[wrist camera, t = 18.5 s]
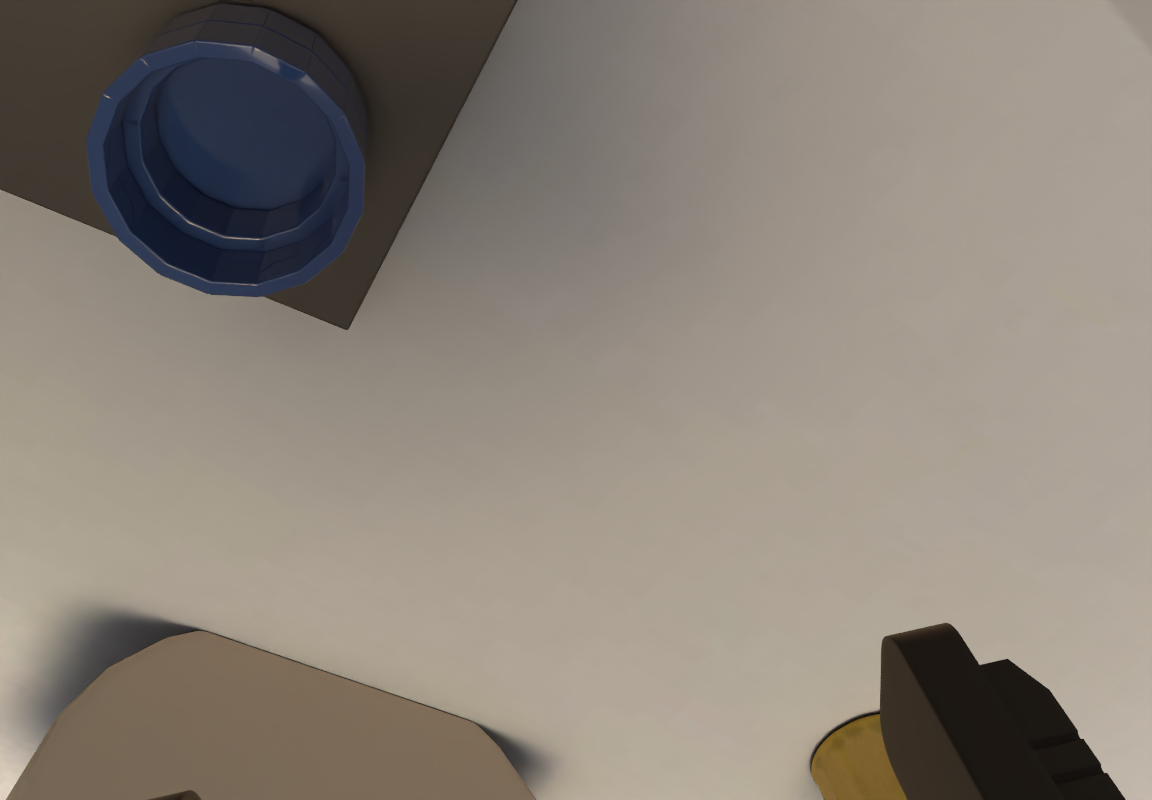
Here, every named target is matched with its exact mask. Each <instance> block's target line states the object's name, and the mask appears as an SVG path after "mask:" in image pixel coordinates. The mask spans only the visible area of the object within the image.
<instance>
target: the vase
mask: <svg viewBox="0 0 1152 800" xmlns="http://www.w3.org/2000/svg"><path fill="white" fill-rule="evenodd" d="M811 772H812V777H813V779H814V781H815V783H816V784H817V785H818V787H819V789H820V791H821V793H822V795H823V797H824V799H825V800H907V798H906V796H905V794H904V792H903V790H902V788H901V786H900V784H899V782H898V780H897V778H896V775H895V773H894V771H893V769H892V766H891V764H890V761H889V758H888V755H887V752H886V749H885V745H884V741H883V737H882V732H881V725H880V714H877V715H872V716H868V717H864V718H860V719H858V720H855V721H853V722H851V723H849V724H847V725H845V726H844V727H842V728H840V729H839V730H837V731H835V732H834V733H833V734H831V735H830V736H829V737H828V738H827V739H826V740H825V741H824V742H823V743H822V744H821V746H820V747H819V748H818V750H817V751H816V754H815V756H814V758H813V761H812V768H811Z"/></svg>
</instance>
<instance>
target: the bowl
mask: <svg viewBox="0 0 1152 800" xmlns="http://www.w3.org/2000/svg"><path fill="white" fill-rule="evenodd" d="M86 140H87V141H86V150H87V158H88V167H89V175H90V184H91V191H92V194H93V196H94V198H95V199H96V201H97V203H98V205H99V206H100V208H101V210H102V212H103V213H104V215H105V217H106V219H107V221H108V222H109V224H110V226H111V228H112V229H113V231H114V233H115V235H116V237H117V238H119V240H120V241H121V242H122V243H123V244H124V245H125V246H126V247H128V248H129V249H130V250H131V251H132V252H134V253H135V254H136V255H137V256H138V257H139V258H141V259H142V260H143V261H144V262H145V263H146V264H148V265H149V266H150V267H151V268H152V269H153V270H155V271H156V272H157V273H158V274H160V275H162V276H164V277H167V278H169V279H172V280H174V281H177V282H179V283H182V284H184V285H187V286H189V287H192V288H194V289H197V290H199V291H202V292H204V293H207V294H211V295H229V296H248V297H260V296H261V297H262V296H266V295H269V294H272V293H275V292H279V291H282V290H285V289H288V288H292V287H295V286H298V285H301V284H305V283H306V282H309V281H310V280H311V279H312V278H314V277H315V276H316V275H317V274H318V273H320V272H321V271H322V270H323V269H325V268H326V267H327V266H328V265H329V264H331V263H332V262H333V261H334V260H335V259H337V258H338V257H339V256H340V255H342V253H343V252H344V251H345V249H346V247H347V244H348V242H349V240H350V238H351V236H352V234H353V232H354V230H355V228H356V226H357V224H358V222H359V220H360V218H361V216H362V214H363V210H364V200H365V184H366V168H367V146H368V116H367V111H366V108H365V105H364V103H363V100H362V97H361V95H360V92H359V90H358V87H357V84H356V82H355V79H354V77H353V74H352V73H351V72H350V69H349V68H348V67H347V66H346V64H345V63H344V62H343V61H342V60H341V59H340V58H339V57H338V56H337V54H336V53H335V52H334V51H333V50H332V49H331V48H330V47H329V46H328V44H327V43H326V42H325V41H324V40H323V39H322V38H321V37H320V36H319V35H318V34H316V33H315V32H314V31H312V30H310V29H308V28H306V27H304V26H302V25H300V24H298V23H296V22H295V21H293V20H291V19H289V18H287V17H285V16H283V15H281V14H279V13H277V12H275V11H270V9H268V8H259V7H249V6H240V5H231V4H220V5H219V4H215V5H212V6H209V7H206V8H202V9H199V10H196V11H193V12H190V13H186V14H183V15H180V16H177V17H174V18H173V19H172V20H170V21H168V22H167V23H166V24H165V25H164V26H163V27H162V28H161V29H160V30H159V31H158V32H157V33H156V34H155V35H154V36H153V37H151V38H150V39H149V40H148V41H147V42H146V43H145V44H144V45H143V46H142V47H141V48H140V49H139V50H138V51H137V52H136V54H135V55H134V56H133V57H132V58H131V60H130V61H129V62H128V63H127V64H126V65H125V67H124V68H123V69H122V70H121V71H120V72H119V73H118V75H117V76H116V77H115V78H114V79H113V80H112V82H111V83H110V84H109V85H108V86H107V87H106V89H105V90H104V92H103V93H102V95H101V98H100V100H99V103H98V106H97V109H96V112H95V115H94V117H93V120H92V123H91V126H90V129H89V132H88V134H87V137H86Z"/></svg>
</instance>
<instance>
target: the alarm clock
mask: <svg viewBox="0 0 1152 800" xmlns="http://www.w3.org/2000/svg"><path fill="white" fill-rule="evenodd" d="M188 790H192V791H194V792H196V793H197V794H198V795H199V797H200V798H201V800H536V798H535V797H534V796H533V794H532V793H531V791H530V790H529V789H528V787H527V786H526V784H525V783H524V781H523V780H522V779H521V777H520V776H519V774H518V773H517V772H516V770H515V769H514V767H513V766H512V765H511V763H510V762H509V760H508V759H507V757H506V756H505V755H504V753H503V752H502V750H501V749H500V748H499V746H498V745H497V744H496V743H495V742H494V741H493V740H492V739H491V738H490V737H489V736H488V735H487V734H486V733H485V732H484V731H483V730H482V729H481V728H480V727H479V726H478V725H477V724H475V723H473V722H471V721H468V720H465V719H462V718H459V717H456V716H453V715H450V714H447V713H444V712H442V711H439V710H436V709H433V708H430V707H427V706H424V705H421V704H418V703H415V702H412V701H409V700H406V699H403V698H400V697H397V696H394V695H391V694H388V693H386V692H383V691H380V690H377V689H374V688H371V687H368V686H365V685H362V684H359V683H356V682H353V681H350V680H347V679H344V678H341V677H338V676H335V675H333V674H330V673H327V672H324V671H321V670H318V669H315V668H312V667H309V666H306V665H303V664H300V663H297V662H294V661H291V660H288V659H285V658H282V657H279V656H277V655H274V654H271V653H268V652H265V651H262V650H259V649H256V648H253V647H250V646H247V645H244V644H241V643H238V642H235V641H232V640H229V639H226V638H224V637H221V636H218V635H215V634H212V633H209V632H204V631H195V632H190V633H185V634H181V635H176V636H171V637H167V638H165V639H163V640H161V641H159V642H157V643H155V644H153V645H151V646H149V647H147V648H145V649H143V650H141V651H139V652H137V653H135V654H133V655H131V656H130V657H128V658H126V659H124V660H122V661H120V662H118V663H116V664H114V665H112V666H110V667H108V668H107V669H106V670H105V671H104V672H103V673H102V674H101V675H100V676H99V677H98V678H96V679H95V680H94V681H93V682H92V683H91V684H90V685H89V686H88V687H87V688H86V689H85V690H84V691H83V692H82V693H81V694H80V695H79V696H78V697H77V698H76V699H75V700H74V701H73V702H72V703H71V704H69V705H68V706H67V707H66V708H65V709H64V710H63V711H62V712H61V713H60V714H59V715H58V716H57V718H56V719H55V721H54V722H53V724H52V726H51V727H50V729H49V731H48V732H47V734H46V735H45V737H44V739H43V740H42V742H41V744H40V745H39V747H38V748H37V750H36V752H35V753H34V755H33V757H32V758H31V760H30V761H29V763H28V765H27V766H26V768H25V770H24V771H23V773H22V774H21V776H20V778H19V779H18V781H17V783H16V784H15V786H14V787H13V789H12V791H11V792H10V794H9V796H8V797H7V799H6V800H148V799H152V798H157V797H161V796H166V795H170V794H174V793H179V792H183V791H188Z"/></svg>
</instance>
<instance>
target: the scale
mask: <svg viewBox="0 0 1152 800" xmlns="http://www.w3.org/2000/svg"><path fill="white" fill-rule="evenodd" d="M516 2H517V0H0V189H1V190H3V191H6V192H8V193H11V194H13V195H16V196H18V197H20V198H23V199H25V200H28V201H30V202H33V203H35V204H38V205H40V206H43V207H45V208H48V209H50V210H52V211H55V212H57V213H60V214H62V215H65V216H67V217H70V218H72V219H75V220H77V221H79V222H82V223H84V224H87V225H89V226H92V227H94V228H97V229H99V230H102V231H104V232H107V233H109V234H111V235H114V236H116V235H115V233H114V231H113V229H112V228H111V226H110V224H109V222H108V221H107V219H106V217H105V215H104V213H103V212H102V210H101V208H100V206H99V205H98V203H97V201H96V199H95V198H94V196H93V194H92V191H91V184H90V175H89V167H88V158H87V150H86V141H87V140H86V137H87V134H88V132H89V129H90V126H91V123H92V120H93V117H94V115H95V112H96V109H97V106H98V103H99V100H100V98H101V95H102V93H103V92H104V90H105V89H106V87H107V86H108V85H109V84H110V83H111V82H112V80H113V79H114V78H115V77H116V76H117V75H118V73H119V72H120V71H121V70H122V69H123V68H124V67H125V65H126V64H127V63H128V62H129V61H130V60H131V58H132V57H133V56H134V55H135V54H136V52H137V51H138V50H139V49H140V48H141V47H142V46H143V45H144V44H145V43H146V42H147V41H148V40H149V39H150V38H151V37H153V36H154V35H155V34H156V33H157V32H158V31H159V30H160V29H161V28H162V27H163V26H164V25H165V24H166V23H167V22H168V21H170V20H172V19H173V18H174V17H177V16H180V15H183V14H186V13H190V12H193V11H196V10H199V9H202V8H206V7H209V6H212V5H215V4H219V5H220V4H231V5H240V6H249V7H259V8H268V9H270V11H275V12H277V13H279V14H281V15H283V16H285V17H287V18H289V19H291V20H293V21H295V22H296V23H298V24H300V25H302V26H304V27H306V28H308V29H310V30H312V31H314V32H315V33H316V34H318V35H319V36H320V37H321V38H322V39H323V40H324V41H325V42H326V43H327V44H328V46H329V47H330V48H331V49H332V50H333V51H334V52H335V53H336V54H337V56H338V57H339V58H340V59H341V60H342V61H343V62H344V63H345V64H346V66H347V67H348V68H349V69H350V72H351V73H352V74H353V77H354V79H355V82H356V84H357V87H358V90H359V92H360V95H361V97H362V100H363V103H364V105H365V108H366V111H367V116H368V146H367V168H366V184H365V200H364V210H363V214H362V216H361V218H360V220H359V222H358V224H357V226H356V228H355V230H354V232H353V234H352V236H351V238H350V240H349V242H348V244H347V247H346V249H345V251H344V252H343V253H342V255H340V256H339V257H338V258H337V259H335V260H334V261H333V262H332V263H331V264H329V265H328V266H327V267H326V268H325V269H323V270H322V271H321V272H320V273H318V274H317V275H316V276H315V277H314V278H312V279H311V280H310V281H309V282H306V283H305V284H301V285H298V286H295V287H292V288H288V289H285V290H282V291H279V292H275V293H272V294H269V295H266V296H264V297H266V298H269V299H271V300H274V301H276V302H279V303H281V304H284V305H286V306H289V307H291V308H293V309H296V310H298V311H301V312H303V313H306V314H308V315H311V316H313V317H316V318H318V319H320V320H323V321H325V322H328V323H330V324H333V325H335V326H338V327H340V328H343V329H345V330H348V329H349V327H350V325H351V323H352V321H353V319H354V317H355V315H356V313H357V312H358V310H359V308H360V306H361V304H362V302H363V300H364V298H365V296H366V294H367V292H368V290H369V288H370V286H371V284H372V282H373V280H374V278H375V277H376V275H377V273H378V271H379V269H380V267H381V265H382V263H383V261H384V259H385V257H386V255H387V253H388V251H389V249H390V247H391V245H392V243H393V241H394V240H395V238H396V236H397V234H398V232H399V230H400V228H401V226H402V224H403V222H404V220H405V218H406V216H407V214H408V212H409V210H410V208H411V206H412V205H413V203H414V201H415V199H416V197H417V195H418V193H419V191H420V189H421V187H422V185H423V183H424V181H425V179H426V177H427V175H428V173H429V171H430V170H431V168H432V166H433V164H434V162H435V160H436V158H437V156H438V154H439V152H440V150H441V148H442V146H443V144H444V142H445V140H446V138H447V136H448V135H449V133H450V131H451V129H452V127H453V125H454V123H455V121H456V119H457V117H458V115H459V113H460V111H461V109H462V107H463V105H464V103H465V101H466V99H467V98H468V96H469V94H470V92H471V90H472V88H473V86H474V84H475V82H476V80H477V78H478V76H479V74H480V72H481V70H482V68H483V66H484V64H485V63H486V61H487V59H488V57H489V55H490V53H491V51H492V49H493V47H494V45H495V43H496V41H497V39H498V37H499V35H500V33H501V31H502V29H503V28H504V26H505V24H506V22H507V20H508V18H509V16H510V14H511V12H512V10H513V8H514V6H515V4H516Z"/></svg>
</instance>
